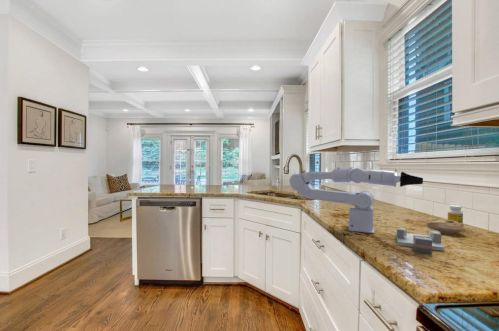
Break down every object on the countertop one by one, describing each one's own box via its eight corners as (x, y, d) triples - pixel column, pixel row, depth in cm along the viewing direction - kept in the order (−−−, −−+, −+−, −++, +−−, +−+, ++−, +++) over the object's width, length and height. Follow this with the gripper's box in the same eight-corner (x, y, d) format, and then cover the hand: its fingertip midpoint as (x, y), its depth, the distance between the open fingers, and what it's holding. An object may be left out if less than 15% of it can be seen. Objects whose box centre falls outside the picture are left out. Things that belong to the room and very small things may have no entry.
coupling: (414, 252, 87) (415, 238, 87) (412, 248, 91) (413, 234, 91) (432, 254, 85) (432, 240, 85) (429, 250, 89) (429, 236, 89)
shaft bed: (398, 245, 94) (398, 232, 94) (395, 235, 106) (395, 223, 106) (444, 251, 88) (444, 237, 88) (435, 239, 101) (435, 227, 101)
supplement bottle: (450, 225, 124) (451, 204, 123) (464, 228, 119) (465, 206, 119) (445, 227, 121) (445, 205, 120) (459, 230, 116) (460, 207, 116)
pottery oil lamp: (423, 227, 117) (429, 213, 118) (455, 241, 112) (462, 226, 113) (427, 224, 110) (434, 209, 111) (462, 239, 104) (469, 222, 105)
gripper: (381, 166, 103) (424, 169, 97) (383, 168, 116) (421, 171, 110) (380, 185, 103) (422, 189, 97) (382, 185, 116) (419, 189, 109)
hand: (422, 181), depth 103 cm, fingers open, 7 cm apart
